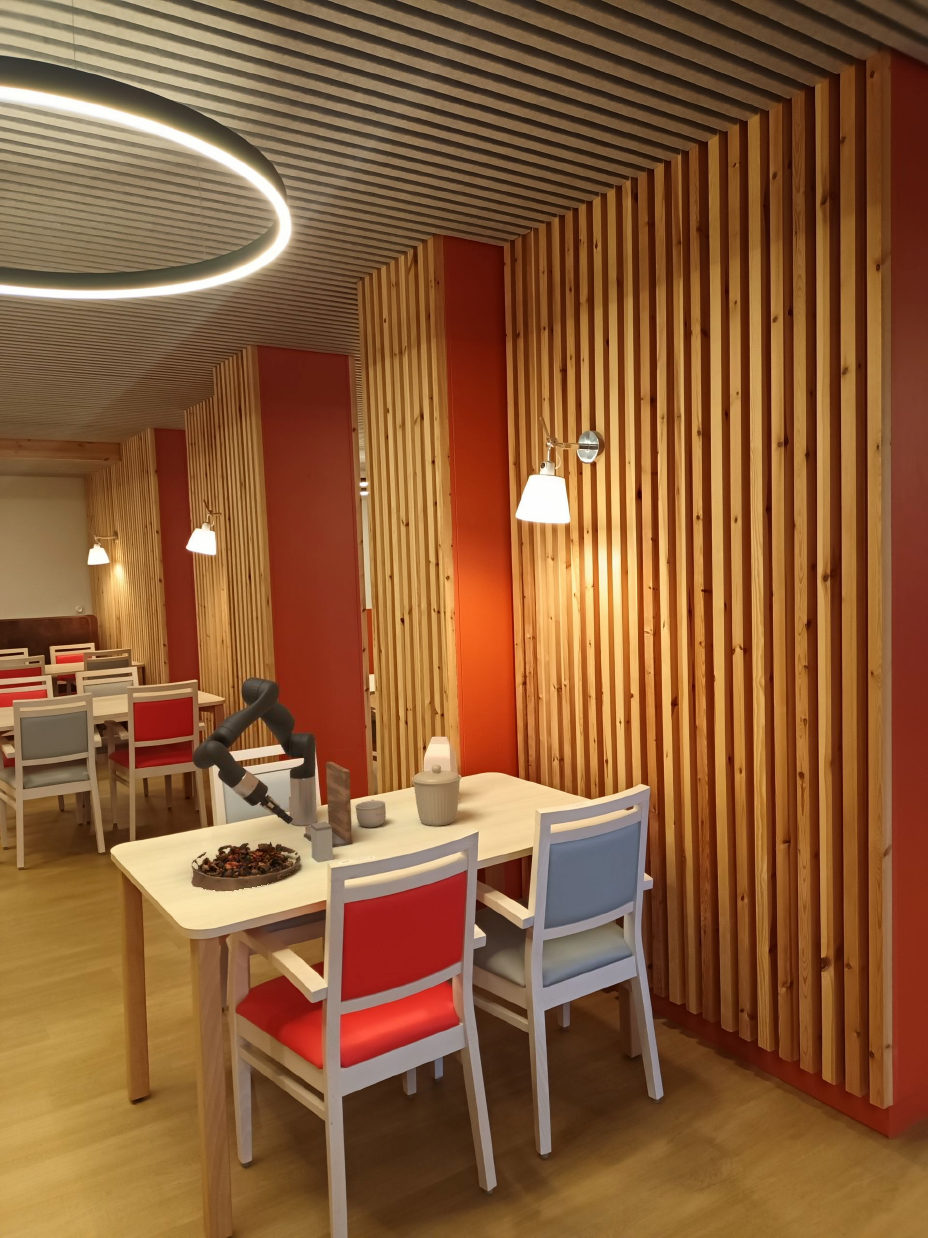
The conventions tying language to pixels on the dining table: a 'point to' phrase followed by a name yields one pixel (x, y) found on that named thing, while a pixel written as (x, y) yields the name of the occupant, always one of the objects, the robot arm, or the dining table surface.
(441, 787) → the canister
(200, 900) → the dining table surface
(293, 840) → the dining table surface
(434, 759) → the milk
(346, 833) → the wall board
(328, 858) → the grey box
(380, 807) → the teacup
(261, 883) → the food dish
